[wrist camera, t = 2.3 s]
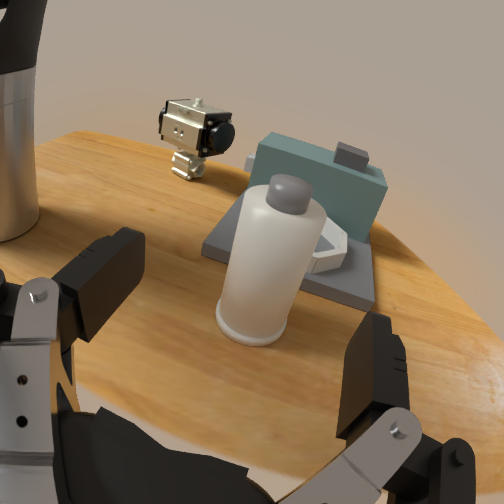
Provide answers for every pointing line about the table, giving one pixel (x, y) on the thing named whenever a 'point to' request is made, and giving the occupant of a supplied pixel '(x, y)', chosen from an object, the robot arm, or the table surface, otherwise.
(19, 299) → the robot arm
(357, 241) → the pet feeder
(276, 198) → the bottle
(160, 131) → the pneumatic valve
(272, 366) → the table surface
